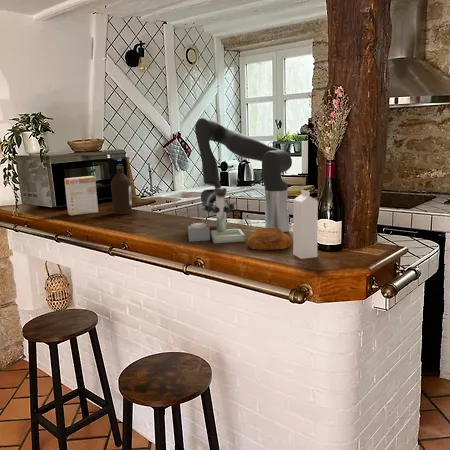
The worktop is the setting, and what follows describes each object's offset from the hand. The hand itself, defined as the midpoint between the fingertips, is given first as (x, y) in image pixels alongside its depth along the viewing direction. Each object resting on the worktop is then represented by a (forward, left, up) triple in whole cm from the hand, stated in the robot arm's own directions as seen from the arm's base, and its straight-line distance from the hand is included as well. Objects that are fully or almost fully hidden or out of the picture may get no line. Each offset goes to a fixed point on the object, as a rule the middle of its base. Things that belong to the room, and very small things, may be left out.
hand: (221, 210), depth 178 cm
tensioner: (+9, -9, -12) cm, 18 cm away
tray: (-2, -3, -12) cm, 12 cm away
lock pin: (0, -3, -9) cm, 9 cm away
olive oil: (+44, -76, -12) cm, 88 cm away
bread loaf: (-16, +13, -12) cm, 24 cm away
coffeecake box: (+66, -83, -12) cm, 106 cm away
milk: (-24, +28, -12) cm, 39 cm away
